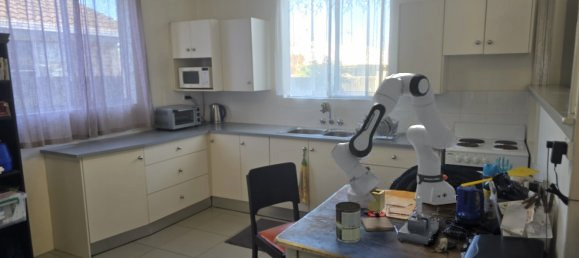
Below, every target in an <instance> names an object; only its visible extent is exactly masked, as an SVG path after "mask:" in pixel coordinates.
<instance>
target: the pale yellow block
mask: <svg viewBox="0 0 579 258" xmlns="http://www.w3.org/2000/svg"><path fill="white" fill-rule="evenodd" d="M370 193H371V195H372V196H373V197H375V198H376V199H377V200H376V201H375V202H374V203H373V202H372V201H371V200H370V199H369V208H368V210H369V211H379V212H381V211H383V210H385V208H386V205H385V204H386V200H385V199H386V198H385V197H386V190H382V189H379V190H377V189H373V190H371V191H370Z"/></svg>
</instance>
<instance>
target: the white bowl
mask: <svg viewBox="0 0 579 258" xmlns="http://www.w3.org/2000/svg"><path fill="white" fill-rule="evenodd" d="M346 191H347V192H346V193H347V195H346V196H347V197H346V198H347V202H355V203H358V204H360V206H361V208H360V209H369V199H368V198H367V197H366V196H364V197H362V198H361V199H360V198H358V197H357V195H356V194H355V193H354V191H353V190H352V188H351V187H350V188H349V189H348V190H346Z"/></svg>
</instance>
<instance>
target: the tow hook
mask: <svg viewBox="0 0 579 258" xmlns="http://www.w3.org/2000/svg"><path fill="white" fill-rule="evenodd" d="M373 212H375V213H373ZM371 213H372V214H371ZM381 213H382V214H381ZM381 213H380V212H379V211H374V210H369V211H368V212H367V215H368V216H369V218H376V217H386V216H387V213H386V212H385V211H383V210H382V211H381ZM385 215H386V216H385Z"/></svg>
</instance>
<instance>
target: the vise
mask: <svg viewBox="0 0 579 258" xmlns="http://www.w3.org/2000/svg"><path fill="white" fill-rule="evenodd" d="M415 202H416V205H415V207H416V209H415V211H416V213H412V214H411V217H408V218H407V220H406V222H405V223H404V224H403V225H402V227H401V228H400V229H399V230H398V231H397V240H403V241H407V242H413V243H415V244H422V245H425V246H426V245H427V246H428V244H429V243H428V241H429V239H430V238H431V236H432V235H433V234H436V233H437V232H438V231H439V226H440V225H439V224H440V223H439V221H432V220H431V218H432V216H431V215H427V214H423V212H422V211H423V210H422V209H423V202H422V197H420V196H418V197H416V200H415Z"/></svg>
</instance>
